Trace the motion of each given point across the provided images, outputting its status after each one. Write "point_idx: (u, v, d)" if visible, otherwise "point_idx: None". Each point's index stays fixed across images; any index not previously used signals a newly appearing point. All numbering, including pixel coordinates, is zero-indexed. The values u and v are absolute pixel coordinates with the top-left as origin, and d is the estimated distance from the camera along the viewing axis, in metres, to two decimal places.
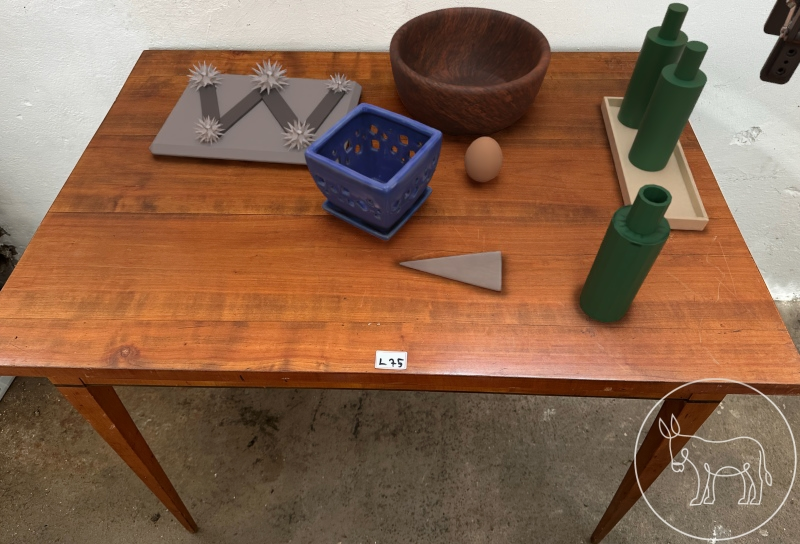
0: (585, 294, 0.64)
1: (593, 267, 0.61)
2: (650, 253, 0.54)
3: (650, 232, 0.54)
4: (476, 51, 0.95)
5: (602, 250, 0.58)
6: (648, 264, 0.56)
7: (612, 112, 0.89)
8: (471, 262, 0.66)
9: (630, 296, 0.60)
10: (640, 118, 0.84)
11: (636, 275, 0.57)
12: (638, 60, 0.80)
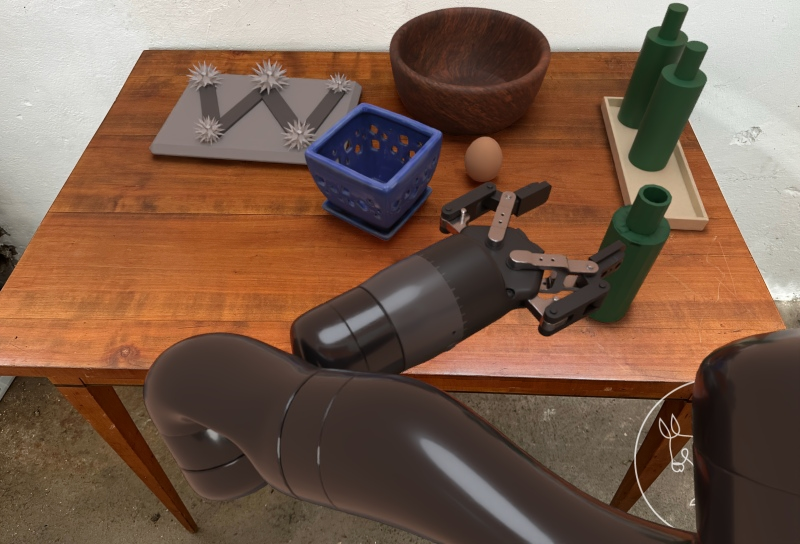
0: None
1: None
2: (650, 253, 0.54)
3: (650, 232, 0.54)
4: (476, 51, 0.95)
5: None
6: (648, 264, 0.56)
7: (612, 112, 0.89)
8: None
9: (630, 296, 0.60)
10: (640, 118, 0.84)
11: (636, 275, 0.57)
12: (638, 60, 0.80)
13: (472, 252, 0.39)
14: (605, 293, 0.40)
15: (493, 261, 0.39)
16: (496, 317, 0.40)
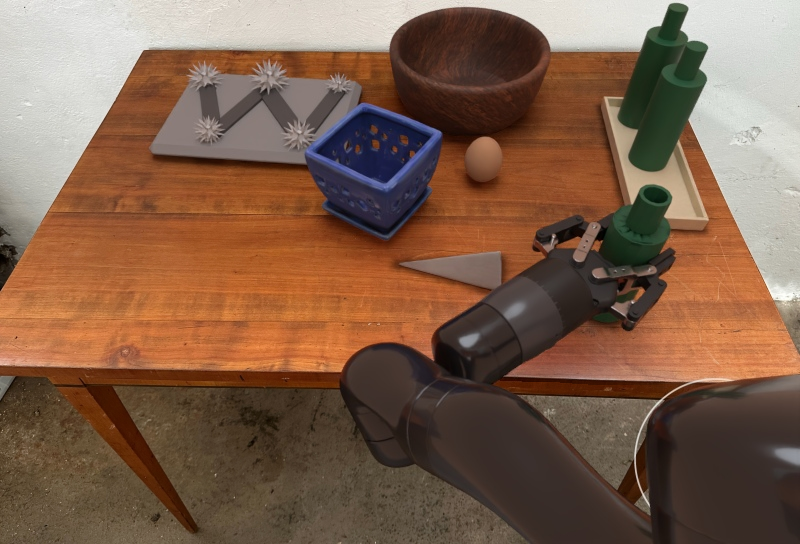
0: None
1: None
2: (650, 253, 0.54)
3: (650, 232, 0.54)
4: (476, 51, 0.95)
5: (602, 250, 0.58)
6: None
7: (612, 112, 0.89)
8: (471, 262, 0.66)
9: (630, 296, 0.60)
10: (640, 118, 0.84)
11: None
12: (638, 60, 0.80)
13: (567, 273, 0.51)
14: (663, 289, 0.53)
15: (583, 279, 0.51)
16: (584, 321, 0.52)
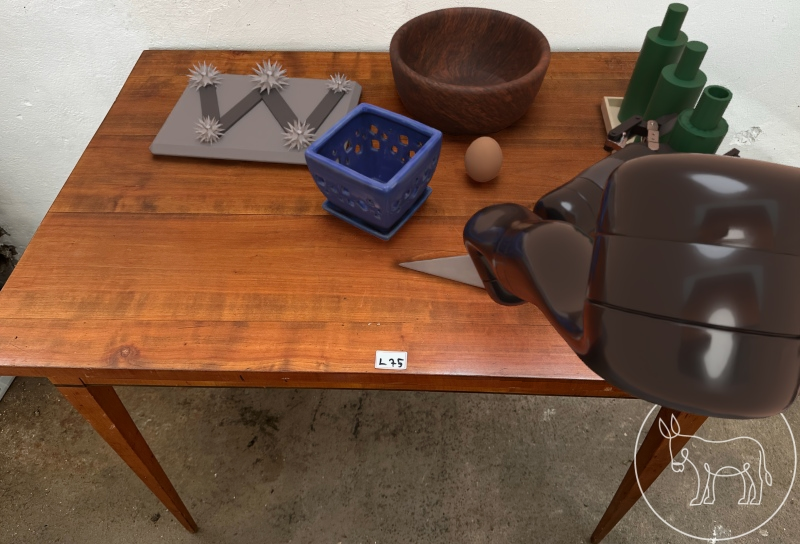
0: None
1: None
2: (711, 146, 0.63)
3: (712, 127, 0.63)
4: (476, 51, 0.95)
5: None
6: None
7: (612, 112, 0.89)
8: (471, 263, 0.66)
9: None
10: None
11: None
12: (638, 60, 0.80)
13: (647, 153, 0.60)
14: None
15: None
16: None
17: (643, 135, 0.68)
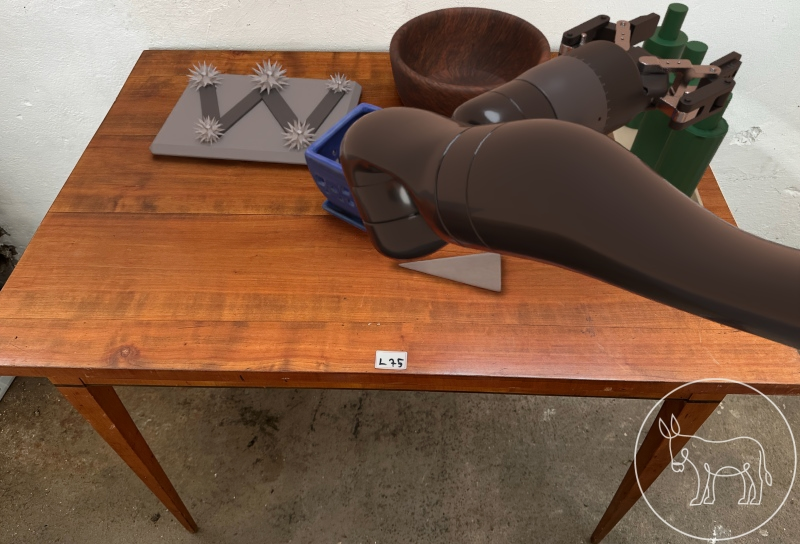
0: None
1: (656, 168, 0.70)
2: (711, 146, 0.63)
3: (712, 127, 0.63)
4: (476, 51, 0.95)
5: (666, 150, 0.67)
6: (708, 158, 0.65)
7: None
8: (470, 263, 0.66)
9: (689, 193, 0.69)
10: (640, 118, 0.84)
11: (697, 170, 0.66)
12: None
13: (611, 48, 0.42)
14: (731, 87, 0.43)
15: (630, 56, 0.42)
16: (631, 114, 0.43)
17: (611, 42, 0.51)
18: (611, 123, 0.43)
